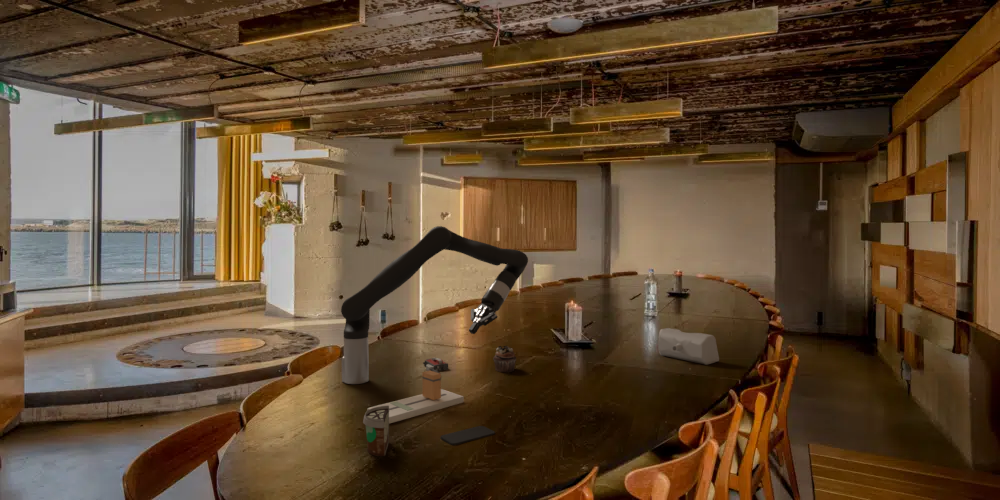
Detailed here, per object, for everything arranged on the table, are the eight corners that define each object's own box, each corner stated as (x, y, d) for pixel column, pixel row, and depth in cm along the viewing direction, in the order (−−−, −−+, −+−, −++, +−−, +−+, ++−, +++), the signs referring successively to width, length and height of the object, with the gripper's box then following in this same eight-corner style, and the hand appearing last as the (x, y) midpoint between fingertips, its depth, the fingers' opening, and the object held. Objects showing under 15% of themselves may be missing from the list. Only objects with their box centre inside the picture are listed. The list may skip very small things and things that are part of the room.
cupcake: (520, 370, 230) (520, 346, 230) (501, 374, 225) (501, 349, 224) (507, 365, 238) (507, 342, 238) (488, 369, 232) (488, 345, 232)
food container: (367, 440, 154) (366, 405, 154) (389, 440, 155) (389, 404, 154) (359, 459, 142) (359, 420, 142) (383, 458, 142) (383, 420, 142)
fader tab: (430, 393, 190) (430, 370, 189) (441, 397, 185) (441, 373, 185) (422, 396, 187) (422, 372, 187) (433, 400, 183) (433, 375, 183)
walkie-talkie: (418, 366, 238) (436, 377, 221) (418, 356, 238) (436, 366, 221) (437, 364, 243) (456, 374, 225) (437, 354, 242) (456, 363, 225)
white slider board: (441, 394, 197) (441, 388, 197) (463, 402, 188) (463, 396, 188) (367, 414, 176) (367, 407, 176) (388, 423, 167) (388, 417, 167)
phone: (496, 432, 160) (452, 444, 150) (496, 435, 160) (452, 447, 151) (481, 425, 165) (438, 436, 156) (481, 427, 166) (438, 438, 156)
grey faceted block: (650, 357, 254) (650, 330, 253) (670, 352, 264) (670, 326, 264) (700, 368, 235) (700, 338, 234) (719, 362, 245) (720, 334, 244)
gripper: (478, 287, 209) (453, 324, 201) (503, 290, 199) (478, 328, 191) (489, 300, 213) (465, 336, 205) (513, 303, 203) (489, 341, 195)
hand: (471, 332), depth 198 cm, fingers closed
